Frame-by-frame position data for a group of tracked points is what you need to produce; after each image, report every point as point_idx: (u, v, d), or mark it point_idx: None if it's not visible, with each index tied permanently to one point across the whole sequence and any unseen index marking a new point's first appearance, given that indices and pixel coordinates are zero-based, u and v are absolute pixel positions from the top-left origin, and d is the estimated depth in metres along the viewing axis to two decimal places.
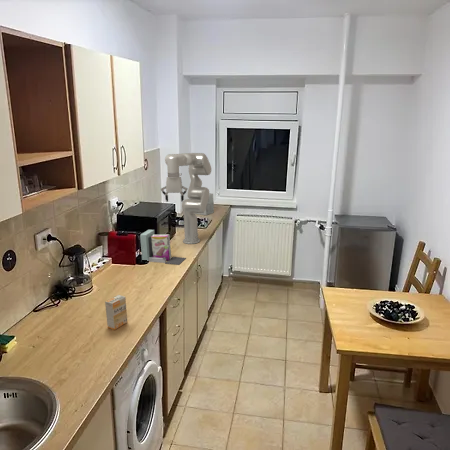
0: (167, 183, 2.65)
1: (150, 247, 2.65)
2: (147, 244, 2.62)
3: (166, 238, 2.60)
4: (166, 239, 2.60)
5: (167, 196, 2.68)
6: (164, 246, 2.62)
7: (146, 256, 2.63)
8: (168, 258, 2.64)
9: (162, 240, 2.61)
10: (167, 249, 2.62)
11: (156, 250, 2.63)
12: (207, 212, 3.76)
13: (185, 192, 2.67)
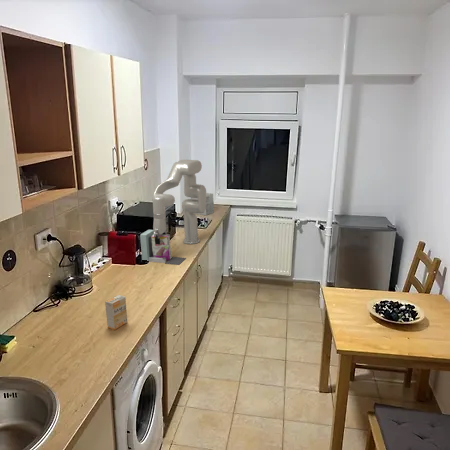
0: (160, 225, 2.56)
1: (150, 247, 2.65)
2: (147, 244, 2.62)
3: (166, 238, 2.60)
4: (166, 239, 2.60)
5: None
6: (164, 246, 2.62)
7: (146, 256, 2.63)
8: (168, 258, 2.64)
9: (162, 240, 2.61)
10: (167, 249, 2.62)
11: (156, 250, 2.63)
12: (207, 212, 3.76)
13: (166, 230, 2.68)
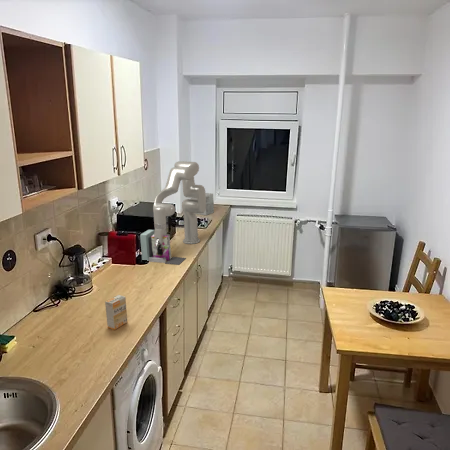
0: (161, 235, 2.58)
1: (150, 247, 2.65)
2: (147, 244, 2.62)
3: (166, 238, 2.60)
4: (166, 239, 2.60)
5: (161, 249, 2.62)
6: (164, 246, 2.62)
7: (146, 256, 2.63)
8: (168, 258, 2.64)
9: None
10: (167, 249, 2.62)
11: (156, 250, 2.63)
12: (207, 212, 3.76)
13: None
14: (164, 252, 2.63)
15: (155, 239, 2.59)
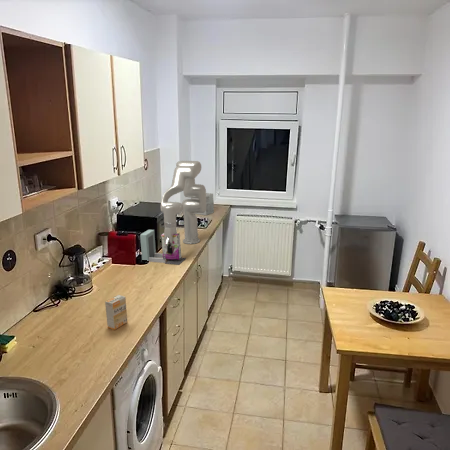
0: (171, 234, 2.56)
1: (150, 247, 2.65)
2: (147, 244, 2.62)
3: (176, 237, 2.58)
4: (176, 238, 2.58)
5: None
6: (174, 245, 2.60)
7: (146, 256, 2.63)
8: (178, 257, 2.62)
9: None
10: (177, 248, 2.60)
11: (166, 248, 2.61)
12: (207, 212, 3.76)
13: None
14: (174, 251, 2.61)
15: (165, 238, 2.57)
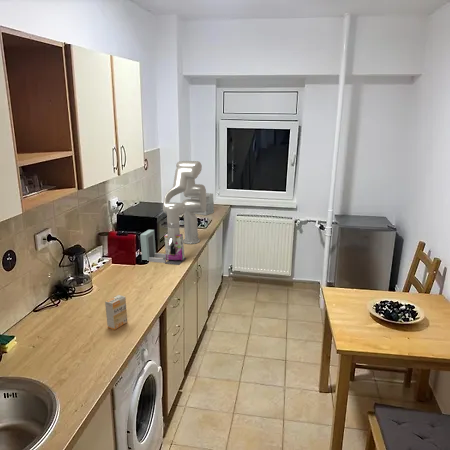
0: (174, 234, 2.55)
1: (150, 247, 2.65)
2: (147, 244, 2.62)
3: (179, 237, 2.58)
4: (179, 238, 2.58)
5: None
6: (177, 246, 2.59)
7: (146, 256, 2.63)
8: (181, 258, 2.61)
9: None
10: (180, 249, 2.59)
11: (169, 249, 2.60)
12: (207, 212, 3.76)
13: None
14: (177, 252, 2.60)
15: (168, 238, 2.56)
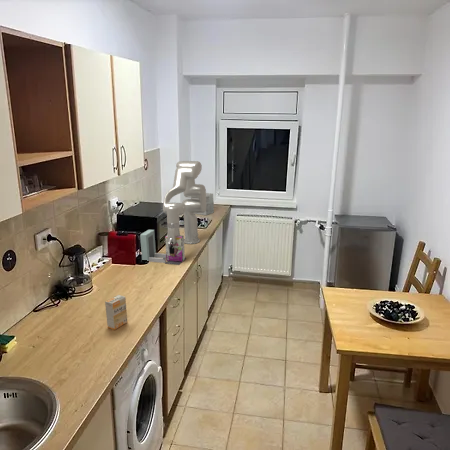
0: (174, 234, 2.55)
1: (150, 247, 2.65)
2: (147, 244, 2.62)
3: (180, 239, 2.57)
4: (180, 240, 2.58)
5: None
6: (177, 247, 2.59)
7: (146, 256, 2.63)
8: (181, 259, 2.61)
9: (176, 241, 2.58)
10: (181, 250, 2.60)
11: None
12: (207, 212, 3.76)
13: None
14: (177, 253, 2.60)
15: (168, 238, 2.56)
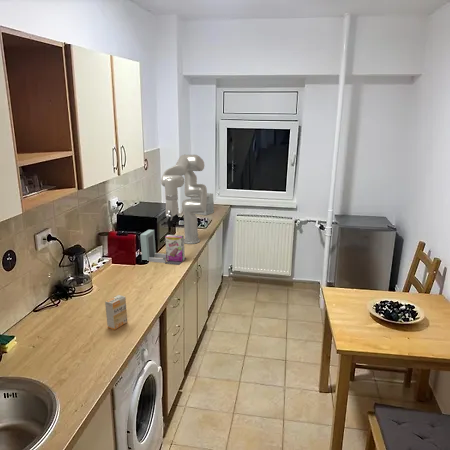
0: (172, 207, 2.51)
1: (150, 247, 2.65)
2: (147, 244, 2.62)
3: (180, 239, 2.58)
4: (180, 240, 2.58)
5: (171, 221, 2.53)
6: (177, 247, 2.59)
7: (146, 256, 2.63)
8: (181, 259, 2.61)
9: (176, 241, 2.58)
10: (181, 250, 2.60)
11: (170, 250, 2.61)
12: (207, 212, 3.76)
13: (178, 212, 2.63)
14: (177, 253, 2.60)
15: (166, 211, 2.52)
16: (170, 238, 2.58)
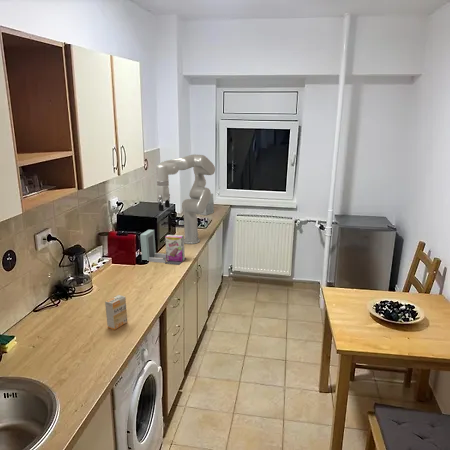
0: (163, 192, 2.65)
1: (150, 247, 2.65)
2: (147, 244, 2.62)
3: (180, 239, 2.58)
4: (180, 240, 2.58)
5: (162, 205, 2.67)
6: (177, 247, 2.59)
7: (146, 256, 2.63)
8: (181, 259, 2.61)
9: (176, 241, 2.58)
10: (181, 250, 2.60)
11: (170, 250, 2.61)
12: (207, 212, 3.76)
13: (169, 198, 2.77)
14: (177, 253, 2.60)
15: (158, 196, 2.66)
16: (170, 238, 2.58)
